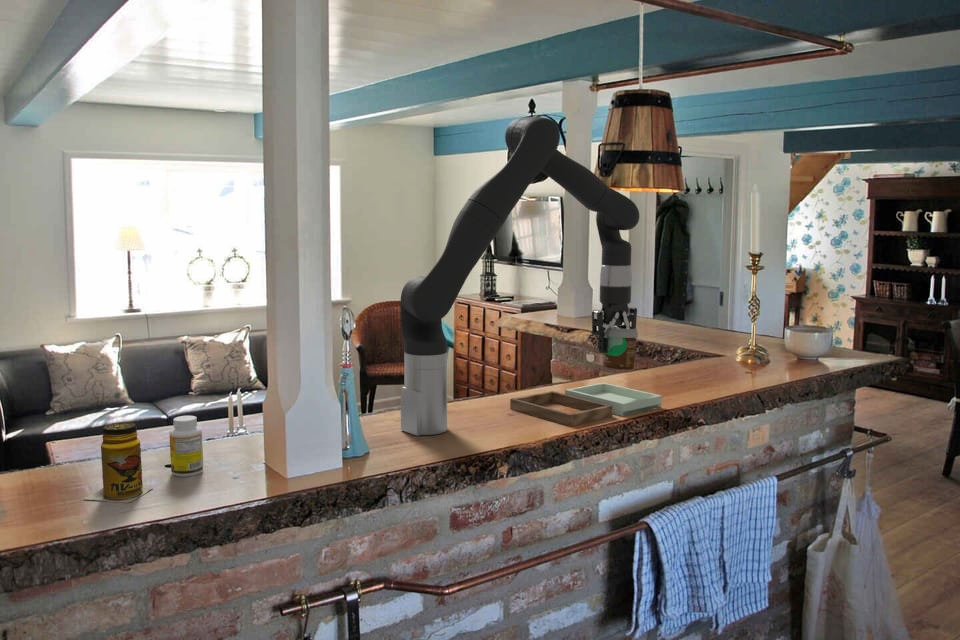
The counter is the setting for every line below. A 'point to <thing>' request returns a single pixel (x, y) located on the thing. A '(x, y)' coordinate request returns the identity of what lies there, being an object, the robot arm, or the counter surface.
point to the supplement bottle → (186, 447)
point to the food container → (620, 348)
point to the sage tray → (618, 398)
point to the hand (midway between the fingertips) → (613, 351)
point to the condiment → (120, 464)
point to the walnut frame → (533, 408)
